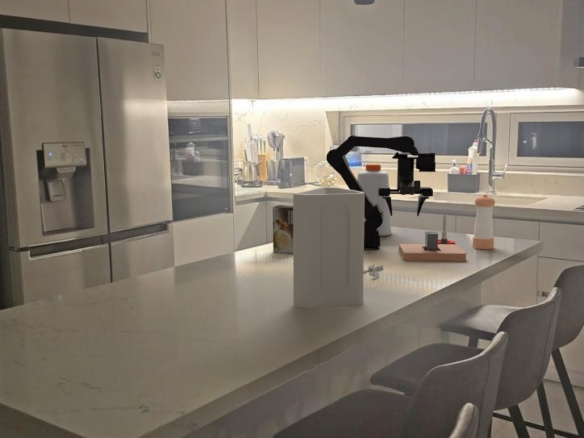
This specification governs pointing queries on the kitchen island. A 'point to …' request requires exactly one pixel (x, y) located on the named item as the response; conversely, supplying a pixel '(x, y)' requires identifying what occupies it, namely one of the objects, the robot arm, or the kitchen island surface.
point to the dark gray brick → (431, 241)
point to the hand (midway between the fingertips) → (404, 215)
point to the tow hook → (445, 233)
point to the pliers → (374, 271)
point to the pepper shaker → (484, 223)
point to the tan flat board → (432, 253)
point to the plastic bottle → (376, 192)
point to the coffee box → (283, 229)
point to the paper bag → (328, 247)
